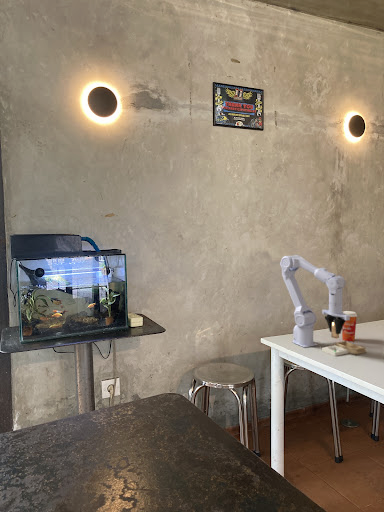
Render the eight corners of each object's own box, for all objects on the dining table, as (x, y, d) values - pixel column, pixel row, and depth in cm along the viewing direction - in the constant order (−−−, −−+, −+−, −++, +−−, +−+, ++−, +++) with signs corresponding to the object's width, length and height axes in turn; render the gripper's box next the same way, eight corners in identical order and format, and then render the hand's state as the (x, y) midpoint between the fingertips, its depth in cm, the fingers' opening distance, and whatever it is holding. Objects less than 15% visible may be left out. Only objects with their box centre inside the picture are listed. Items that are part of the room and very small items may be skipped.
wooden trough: (335, 347, 180) (335, 342, 180) (345, 345, 183) (345, 341, 183) (355, 355, 169) (355, 350, 169) (365, 352, 172) (365, 348, 172)
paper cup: (337, 340, 192) (338, 312, 191) (344, 336, 197) (344, 310, 196) (353, 343, 186) (353, 315, 185) (359, 339, 192) (360, 312, 191)
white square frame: (321, 350, 176) (321, 346, 176) (335, 348, 179) (335, 344, 179) (334, 356, 168) (334, 351, 168) (348, 353, 172) (348, 349, 172)
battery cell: (329, 336, 174) (330, 320, 173) (335, 335, 175) (335, 319, 175) (335, 338, 171) (335, 322, 171) (340, 337, 172) (340, 321, 172)
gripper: (355, 305, 167) (354, 335, 168) (330, 299, 180) (330, 327, 181) (342, 306, 164) (342, 337, 165) (318, 300, 177) (318, 329, 178)
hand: (335, 332), depth 173 cm, fingers closed on battery cell, 3 cm apart
